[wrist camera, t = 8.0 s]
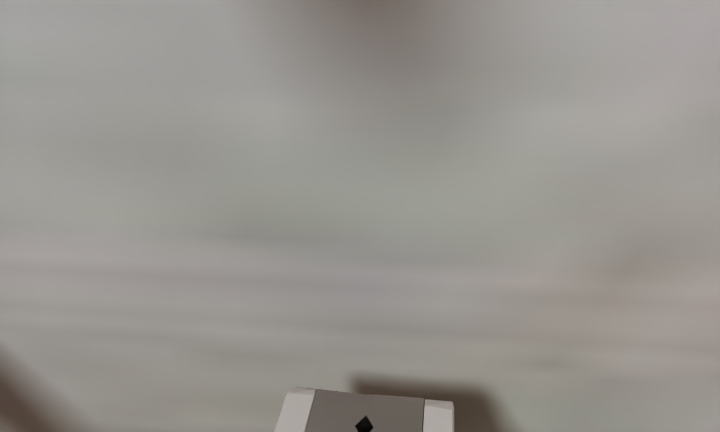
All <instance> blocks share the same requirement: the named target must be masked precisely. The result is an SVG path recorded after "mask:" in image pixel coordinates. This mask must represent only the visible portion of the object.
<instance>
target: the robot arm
mask: <svg viewBox="0 0 720 432" xmlns="http://www.w3.org/2000/svg"><path fill="white" fill-rule="evenodd" d="M274 432H454V405H453V401H441V400H428V399H425V401H424V398H414V397H402V396H389V395H376V394H370V395H365V394H356V393H348V392H339V391H330V390H322V389H314V388H303V387H293V386H291V387H290V389H289V390H288V392H287V394H286V396H285V399H284V403H283V406H282V409H281V412H280V415H279V419H278V422H277V425H276V428H275V431H274Z"/></svg>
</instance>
